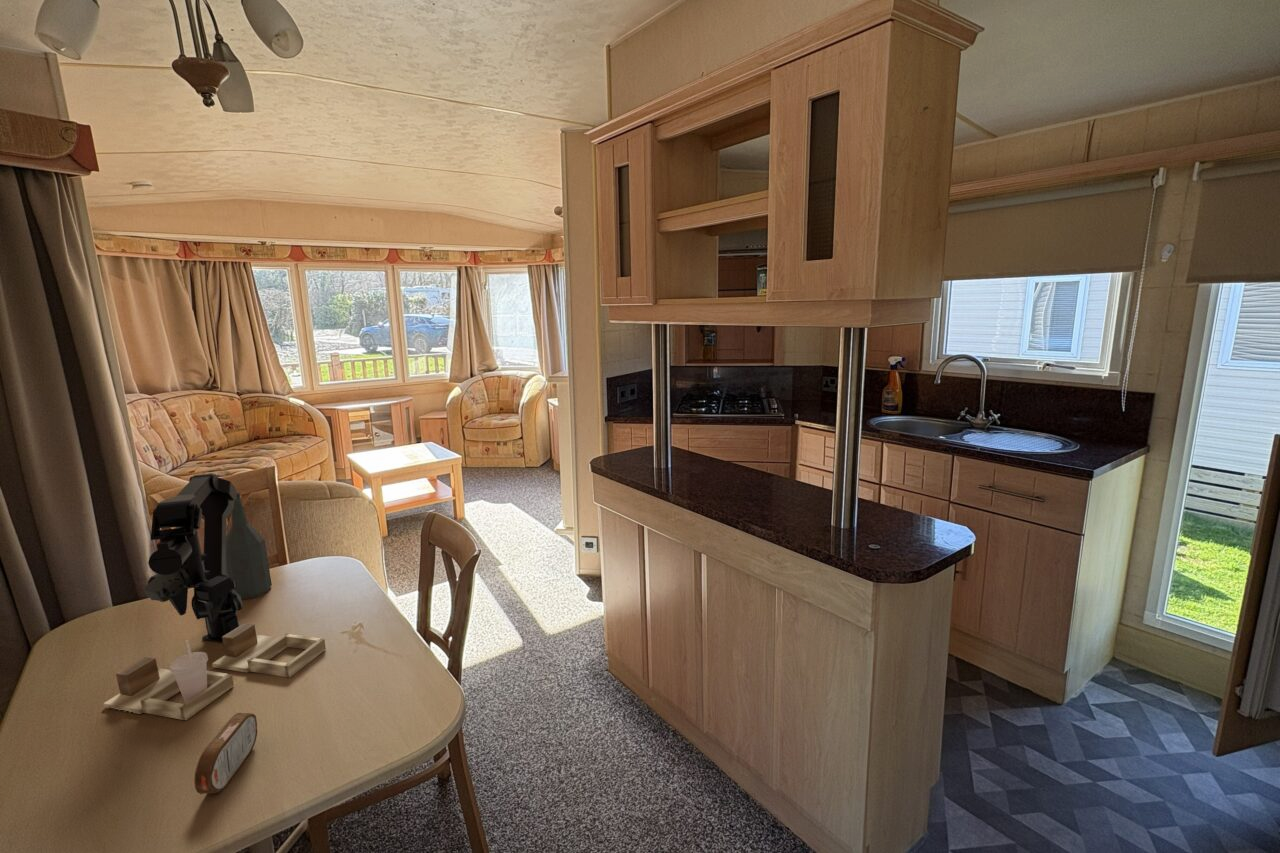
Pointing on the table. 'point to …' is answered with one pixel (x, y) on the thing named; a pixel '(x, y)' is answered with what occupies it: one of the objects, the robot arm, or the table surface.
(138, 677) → the cream rimmed tray
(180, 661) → the smoothie
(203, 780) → the tin
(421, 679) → the table surface
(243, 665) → the hollow rectangular frame
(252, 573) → the bottle
